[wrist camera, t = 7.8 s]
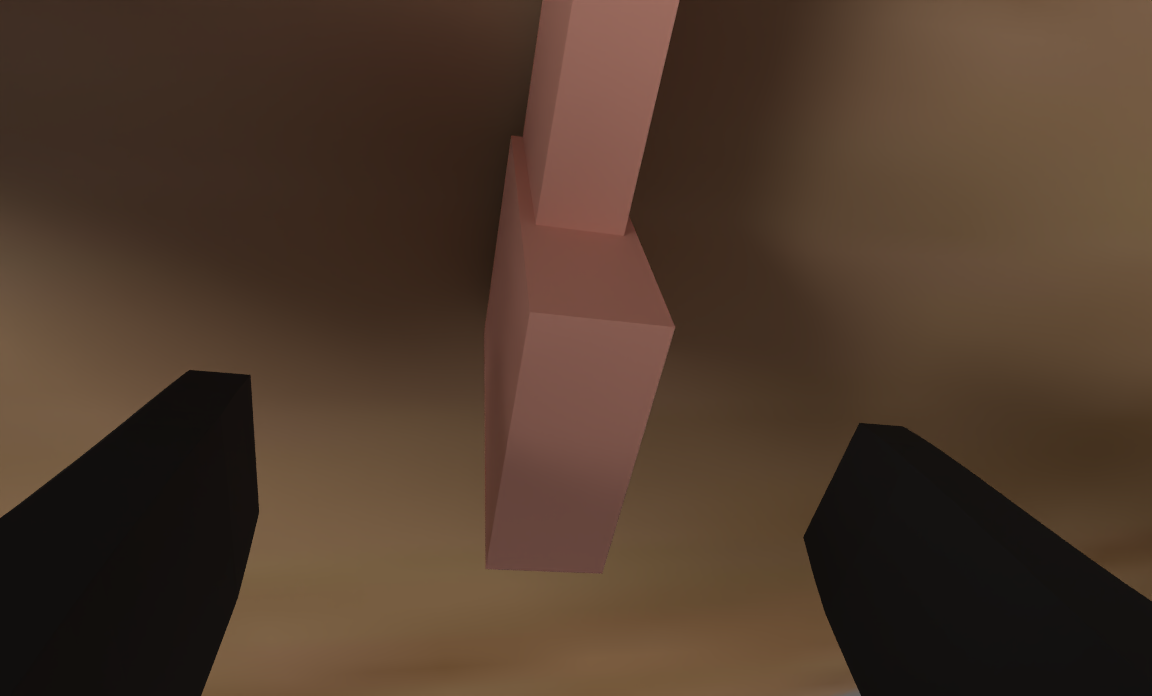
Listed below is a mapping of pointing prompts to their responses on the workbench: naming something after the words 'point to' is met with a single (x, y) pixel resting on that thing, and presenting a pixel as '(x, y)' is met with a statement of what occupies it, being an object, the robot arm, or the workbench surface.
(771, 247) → the workbench surface
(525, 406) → the pink stepped stick
